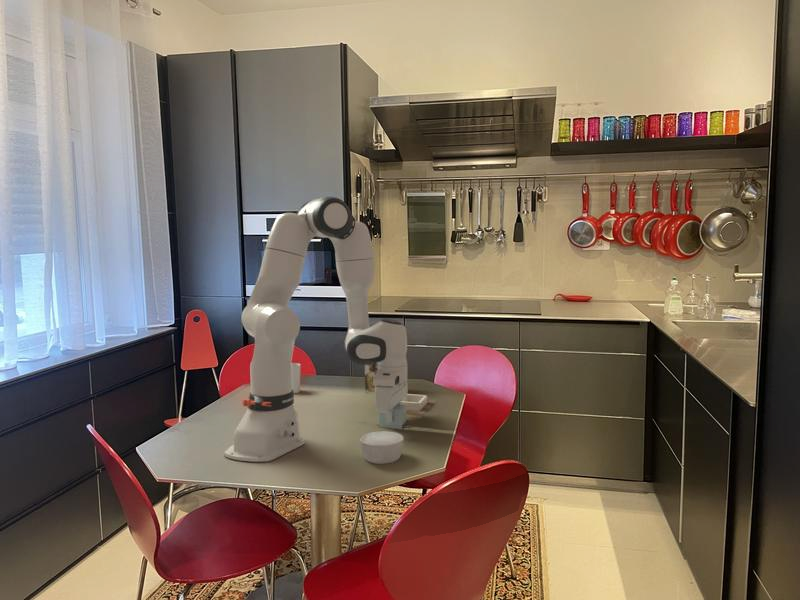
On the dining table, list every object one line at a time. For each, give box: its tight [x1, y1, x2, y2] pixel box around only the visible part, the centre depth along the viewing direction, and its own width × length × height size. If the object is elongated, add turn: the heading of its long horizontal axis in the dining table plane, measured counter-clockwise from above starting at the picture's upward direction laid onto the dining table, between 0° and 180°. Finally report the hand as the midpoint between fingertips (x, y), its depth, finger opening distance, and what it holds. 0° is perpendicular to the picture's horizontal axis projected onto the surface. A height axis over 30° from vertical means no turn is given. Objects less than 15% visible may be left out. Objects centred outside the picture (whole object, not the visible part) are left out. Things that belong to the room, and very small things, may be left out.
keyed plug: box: [378, 405, 407, 430], centre depth 178 cm, size 4×7×6 cm, turn 73°
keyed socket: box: [401, 393, 429, 411], centre depth 195 cm, size 10×8×2 cm
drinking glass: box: [291, 362, 301, 394], centre depth 218 cm, size 7×7×10 cm
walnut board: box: [406, 399, 437, 419], centre depth 193 cm, size 20×12×1 cm, turn 163°
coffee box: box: [364, 362, 378, 394], centre depth 214 cm, size 9×6×16 cm
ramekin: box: [359, 430, 405, 465], centre depth 152 cm, size 11×11×5 cm
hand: (392, 419), depth 178 cm, fingers closed on keyed plug, 4 cm apart
